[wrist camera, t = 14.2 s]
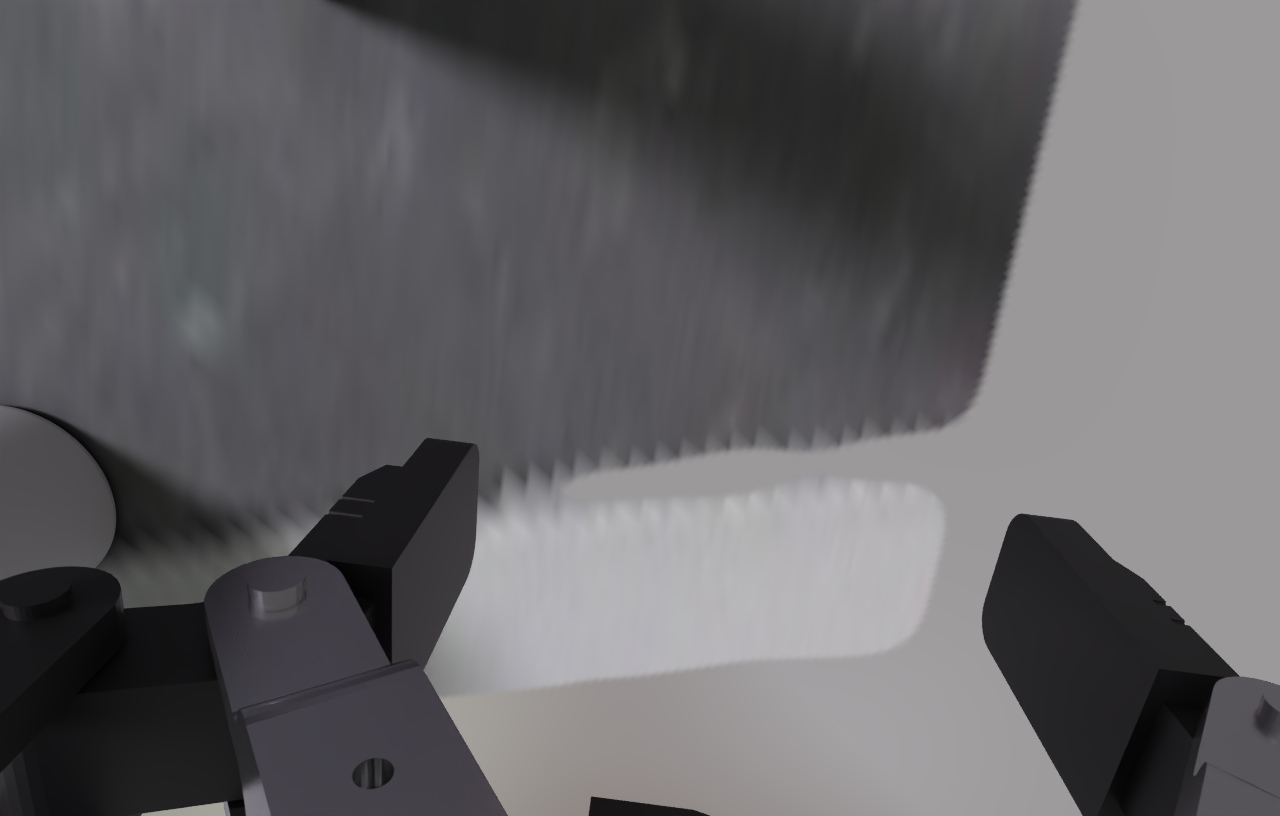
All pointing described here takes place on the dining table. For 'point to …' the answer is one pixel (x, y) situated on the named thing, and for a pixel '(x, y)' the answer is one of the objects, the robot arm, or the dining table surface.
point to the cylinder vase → (49, 498)
